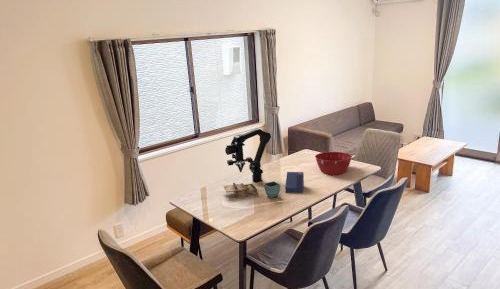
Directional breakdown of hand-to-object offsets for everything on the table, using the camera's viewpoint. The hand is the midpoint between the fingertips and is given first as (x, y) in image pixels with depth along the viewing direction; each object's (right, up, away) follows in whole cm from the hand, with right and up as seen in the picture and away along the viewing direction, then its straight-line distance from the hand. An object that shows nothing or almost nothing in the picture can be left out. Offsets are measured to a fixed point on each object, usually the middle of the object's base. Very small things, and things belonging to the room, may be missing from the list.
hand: (240, 172), depth 273 cm
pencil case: (+4, -14, -10) cm, 18 cm away
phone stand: (+39, -13, -10) cm, 43 cm away
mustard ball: (+7, -13, -7) cm, 16 cm away
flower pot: (+23, -16, -19) cm, 33 cm away
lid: (-4, -10, -13) cm, 17 cm away
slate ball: (+8, -14, -12) cm, 20 cm away
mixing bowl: (+74, -3, +19) cm, 77 cm away
